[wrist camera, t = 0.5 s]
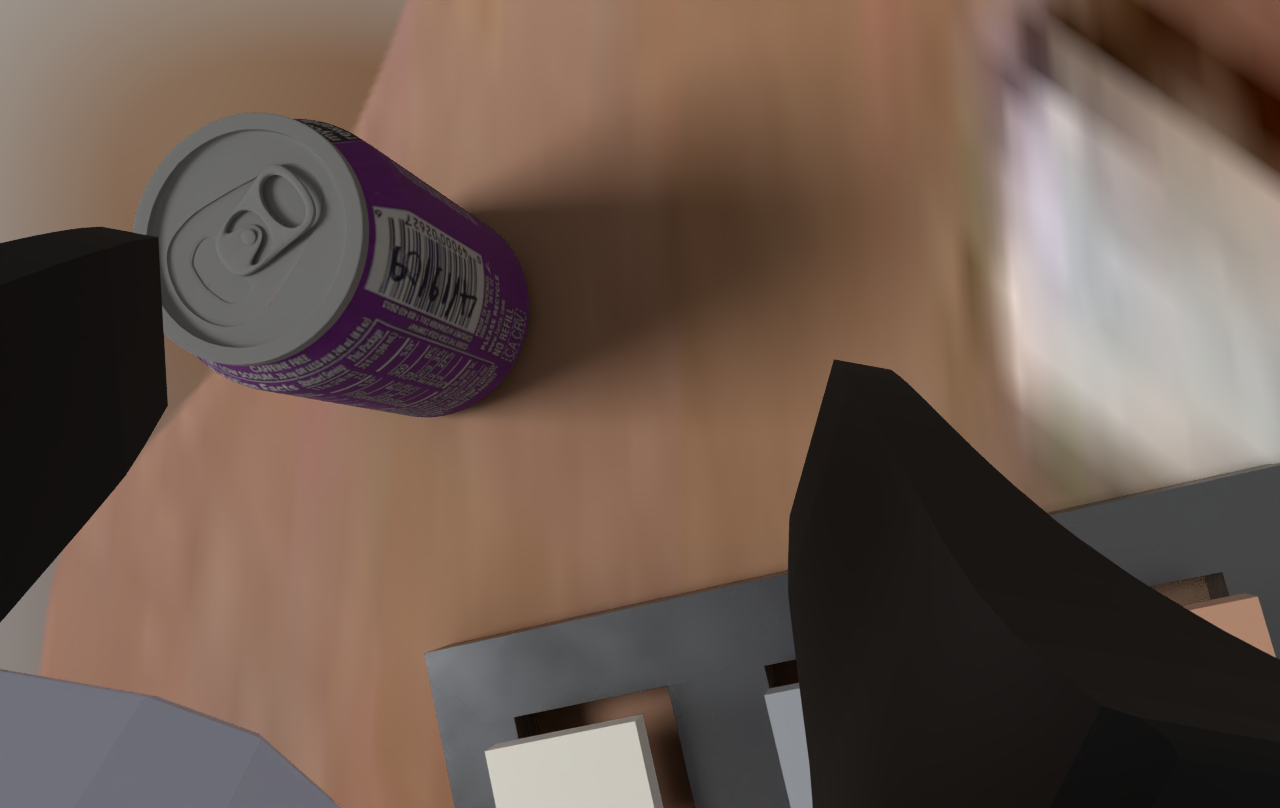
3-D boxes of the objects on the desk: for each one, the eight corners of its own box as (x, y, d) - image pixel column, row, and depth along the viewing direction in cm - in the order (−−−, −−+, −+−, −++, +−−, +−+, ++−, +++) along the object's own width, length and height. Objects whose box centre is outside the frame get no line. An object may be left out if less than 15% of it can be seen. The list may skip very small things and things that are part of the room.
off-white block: (692, 847, 33) (671, 887, 29) (552, 871, 34) (517, 913, 30) (659, 698, 33) (634, 721, 30) (522, 726, 34) (484, 751, 31)
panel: (1371, 811, 31) (1404, 832, 29) (509, 951, 36) (488, 978, 34) (1266, 464, 32) (1291, 462, 30) (448, 645, 37) (424, 653, 35)
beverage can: (448, 173, 39) (261, 33, 27) (578, 320, 37) (440, 240, 25) (305, 312, 39) (62, 234, 28) (426, 461, 38) (225, 446, 26)
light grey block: (964, 799, 31) (974, 835, 28) (811, 826, 32) (804, 864, 29) (924, 644, 32) (930, 661, 29) (775, 675, 33) (764, 695, 29)
